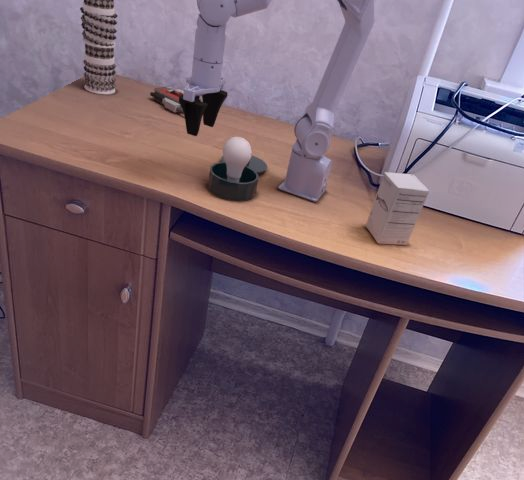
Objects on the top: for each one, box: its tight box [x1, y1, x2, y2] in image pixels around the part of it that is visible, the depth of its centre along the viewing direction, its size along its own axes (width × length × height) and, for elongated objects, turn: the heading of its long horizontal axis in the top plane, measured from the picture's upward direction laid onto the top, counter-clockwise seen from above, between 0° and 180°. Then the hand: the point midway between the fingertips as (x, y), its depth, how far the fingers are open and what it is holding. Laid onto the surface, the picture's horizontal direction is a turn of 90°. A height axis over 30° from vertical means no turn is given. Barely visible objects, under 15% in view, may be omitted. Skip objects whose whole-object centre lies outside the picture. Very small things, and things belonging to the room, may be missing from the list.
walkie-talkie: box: [149, 86, 184, 115], centre depth 148 cm, size 9×4×20 cm
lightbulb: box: [222, 136, 253, 183], centre depth 112 cm, size 6×6×11 cm
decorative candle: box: [79, 0, 118, 95], centre depth 141 cm, size 9×9×25 cm
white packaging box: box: [365, 171, 430, 246], centre depth 109 cm, size 7×7×13 cm
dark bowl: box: [207, 161, 259, 202], centre depth 115 cm, size 11×11×4 cm
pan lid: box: [220, 147, 268, 175], centre depth 125 cm, size 11×11×5 cm
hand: (200, 129), depth 111 cm, fingers open, 7 cm apart
